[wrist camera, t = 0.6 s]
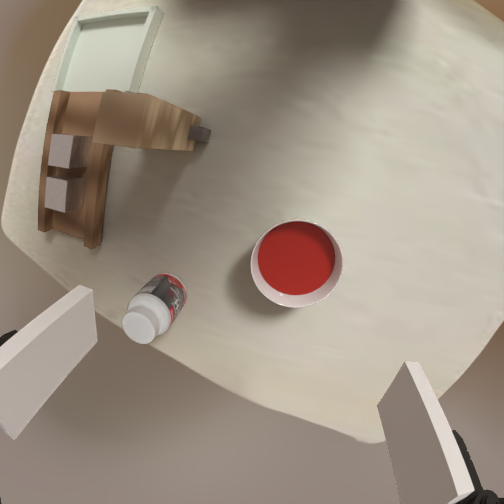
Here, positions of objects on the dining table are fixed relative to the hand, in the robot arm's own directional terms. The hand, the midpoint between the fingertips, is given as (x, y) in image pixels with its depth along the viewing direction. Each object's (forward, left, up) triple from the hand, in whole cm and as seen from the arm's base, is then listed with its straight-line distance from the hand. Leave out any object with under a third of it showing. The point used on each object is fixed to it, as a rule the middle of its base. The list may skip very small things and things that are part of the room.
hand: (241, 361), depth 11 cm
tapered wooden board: (-8, -13, -24) cm, 28 cm away
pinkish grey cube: (+1, -27, -23) cm, 35 cm away
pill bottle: (+12, -11, -24) cm, 29 cm away
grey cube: (-4, -27, -23) cm, 35 cm away
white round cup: (+2, +3, -24) cm, 24 cm away
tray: (-18, -27, -24) cm, 40 cm away
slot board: (-2, -27, -24) cm, 36 cm away
